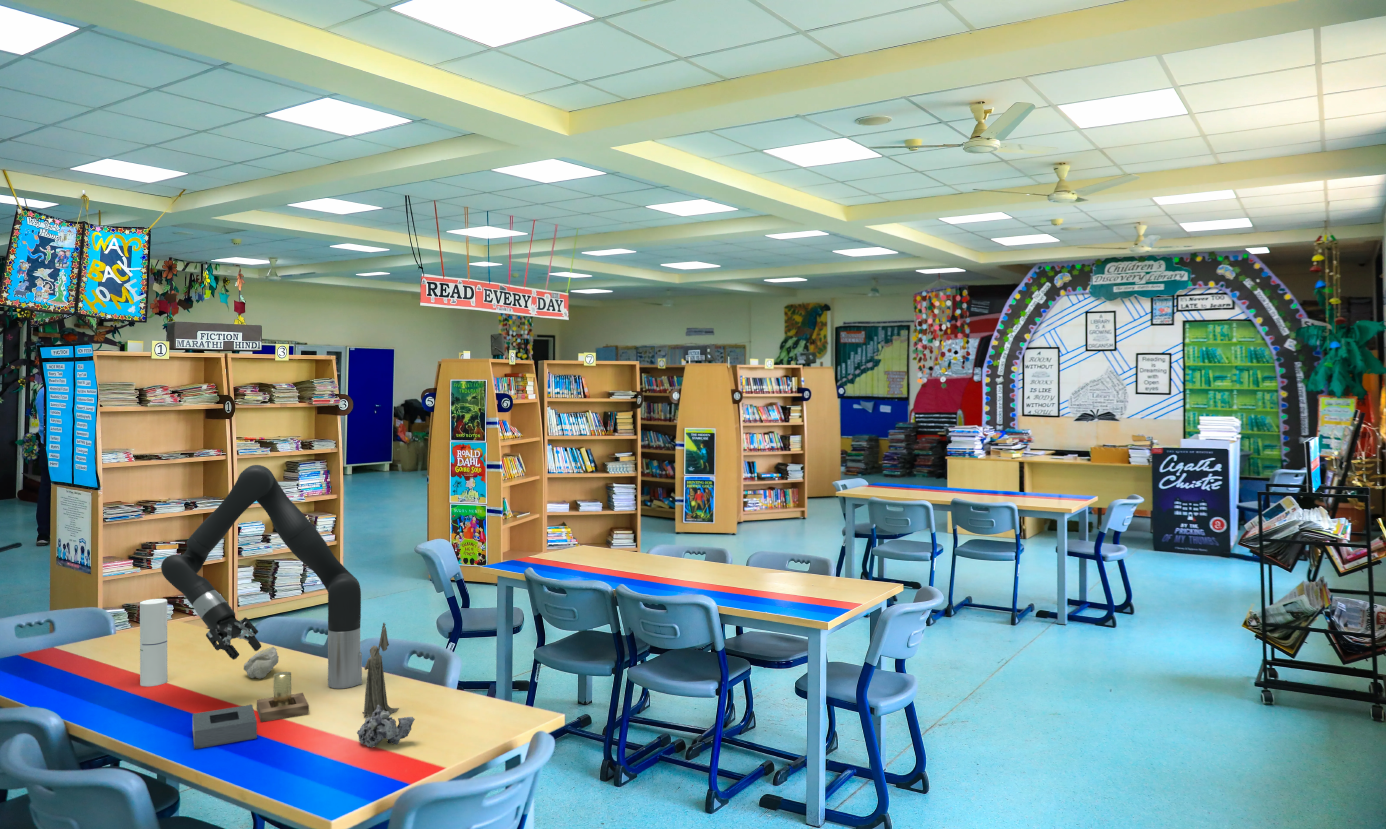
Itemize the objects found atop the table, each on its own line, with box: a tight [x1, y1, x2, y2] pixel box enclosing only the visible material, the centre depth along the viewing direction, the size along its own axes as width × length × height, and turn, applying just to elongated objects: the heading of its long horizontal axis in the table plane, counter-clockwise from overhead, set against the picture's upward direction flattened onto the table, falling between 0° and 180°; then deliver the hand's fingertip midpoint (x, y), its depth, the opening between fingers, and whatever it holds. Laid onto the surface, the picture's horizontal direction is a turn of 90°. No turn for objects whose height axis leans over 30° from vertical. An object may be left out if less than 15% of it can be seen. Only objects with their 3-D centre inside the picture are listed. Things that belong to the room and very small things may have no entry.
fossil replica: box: [243, 646, 279, 680], centre depth 278 cm, size 12×8×10 cm
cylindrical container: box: [139, 598, 168, 687], centre depth 270 cm, size 7×7×25 cm
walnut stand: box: [256, 692, 310, 723], centre depth 247 cm, size 12×12×2 cm
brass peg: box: [273, 671, 292, 707], centre depth 247 cm, size 4×4×10 cm
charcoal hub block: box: [192, 704, 258, 750], centre depth 230 cm, size 14×14×4 cm
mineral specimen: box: [356, 705, 416, 748], centre depth 225 cm, size 13×10×11 cm
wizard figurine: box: [362, 622, 400, 719], centre depth 247 cm, size 10×8×25 cm
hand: (247, 653), depth 249 cm, fingers open, 8 cm apart
